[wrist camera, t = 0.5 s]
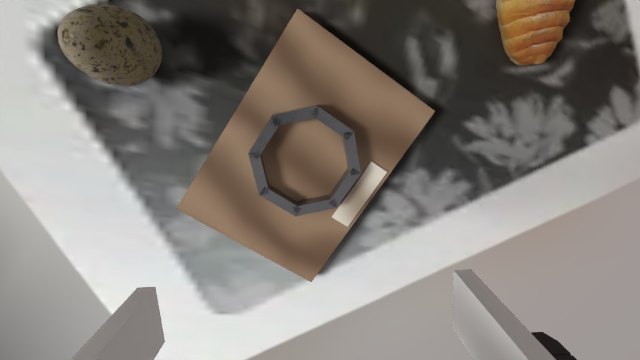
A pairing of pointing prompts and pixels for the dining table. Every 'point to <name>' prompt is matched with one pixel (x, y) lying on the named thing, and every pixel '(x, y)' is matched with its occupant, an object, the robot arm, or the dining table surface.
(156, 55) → the decorative egg
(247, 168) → the walnut board
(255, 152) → the ring socket
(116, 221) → the dining table surface
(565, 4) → the pastry
